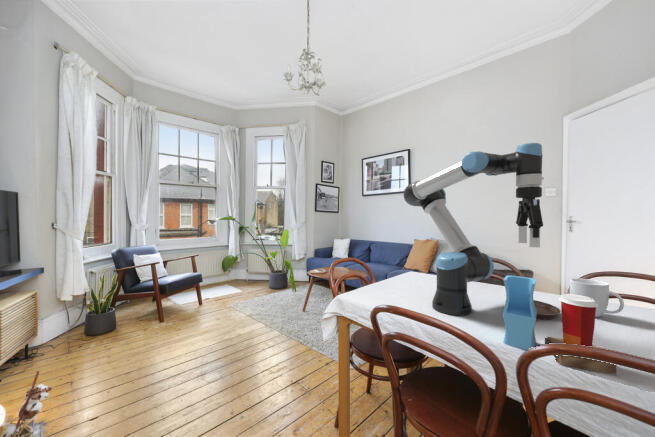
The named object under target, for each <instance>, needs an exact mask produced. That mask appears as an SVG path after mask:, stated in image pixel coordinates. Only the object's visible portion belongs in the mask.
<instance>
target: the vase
mask: <svg viewBox="0 0 655 437" xmlns="http://www.w3.org/2000/svg"><path fill="white" fill-rule="evenodd" d="M502 281H503V284H504V288H505V293H506V295H505V296H506V297H505V298H506V299H505V303H504V307H503V311H502V317H503V320H504V326H505V328H504V329H505V331H504V338H503V341H502V342H503V344H504V345H507V346H510V347H512V348H513V347H514V348H517V349H522V350H525V351H528V349H529V348H531V347H535V346H537V338H536V334H535V323H536V320H537V318H536V315H537V310H536V307H535V304H534V300H535V299H534V292H535V288H536V285H537V284H536V283H537V279H536V278H533V277H525V276H519V275H518V276H517V275H508V274H507V275H505V277H504V278H503V280H502Z"/></svg>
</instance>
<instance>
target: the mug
mask: <svg viewBox="0 0 655 437" xmlns="http://www.w3.org/2000/svg"><path fill="white" fill-rule="evenodd" d="M569 294H575V295H581V296H586V297H590V298H592V299H594V300H595V301H596V304H597V305H598V306H597V307H596V313H595V318H600V317H602V316H603V315H604V314H609V315H610V314H613V315H614V314H618V313H620V312H622V311H623V310H624V308H625V301H624V299H623V298H622V296H621V295H619V294H618V293H616V292H613V291H610V284H609V283H608V282H605V281H601V280H595V279H590V278H576V277H574V278H573V277H572V278H570V279H569ZM610 295H613V296H615V297H616V298H617V299H618V301H619V307H618V309H616V310H607V309H608V305H609V301H610V300H609V299H610Z"/></svg>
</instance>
